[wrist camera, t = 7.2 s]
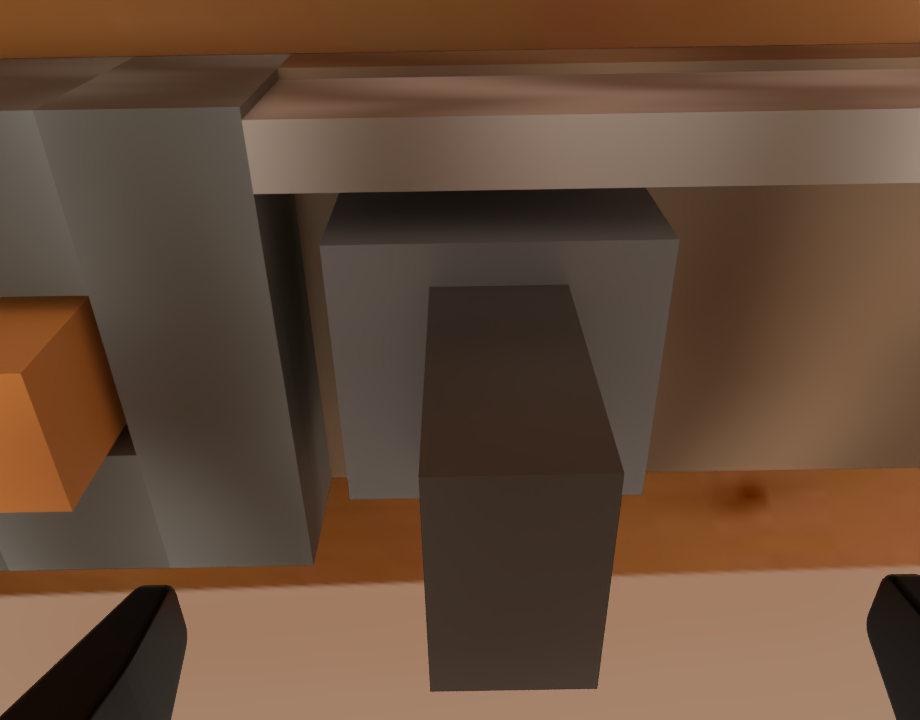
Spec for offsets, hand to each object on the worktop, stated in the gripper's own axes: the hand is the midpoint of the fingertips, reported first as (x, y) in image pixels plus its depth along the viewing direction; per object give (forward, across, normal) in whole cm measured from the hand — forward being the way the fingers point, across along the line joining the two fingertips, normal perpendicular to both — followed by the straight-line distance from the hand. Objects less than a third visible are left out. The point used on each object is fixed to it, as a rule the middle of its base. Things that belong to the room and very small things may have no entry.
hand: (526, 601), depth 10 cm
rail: (+10, -1, 0) cm, 10 cm away
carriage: (+8, 0, 0) cm, 8 cm away
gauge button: (+7, +9, 0) cm, 12 cm away
